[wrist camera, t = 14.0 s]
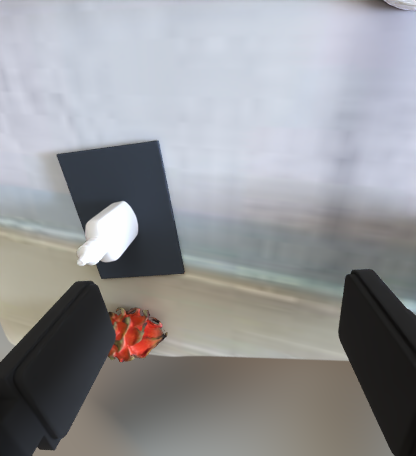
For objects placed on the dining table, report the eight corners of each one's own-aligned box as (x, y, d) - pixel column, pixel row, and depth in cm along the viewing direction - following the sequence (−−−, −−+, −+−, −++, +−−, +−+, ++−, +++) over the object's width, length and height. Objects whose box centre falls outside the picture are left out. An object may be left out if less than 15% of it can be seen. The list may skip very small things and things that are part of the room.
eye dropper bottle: (109, 231, 37) (58, 278, 26) (113, 196, 35) (60, 233, 24) (137, 239, 37) (98, 290, 26) (143, 205, 35) (104, 245, 24)
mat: (59, 154, 33) (56, 154, 33) (158, 140, 32) (157, 140, 31) (102, 276, 41) (101, 278, 41) (184, 271, 40) (184, 273, 39)
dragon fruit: (104, 303, 46) (170, 304, 47) (99, 353, 44) (167, 353, 45) (87, 309, 37) (167, 310, 39) (80, 370, 36) (164, 370, 37)
